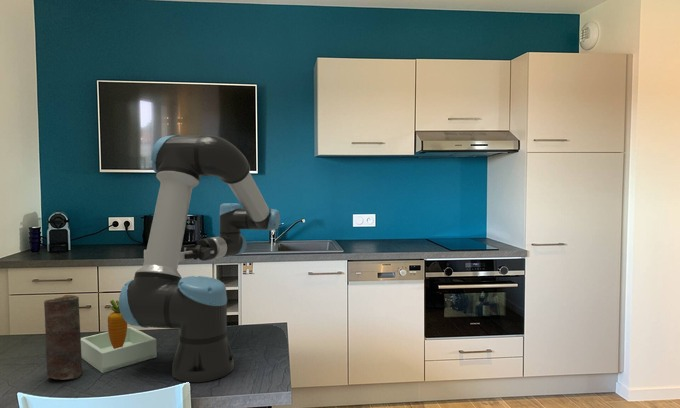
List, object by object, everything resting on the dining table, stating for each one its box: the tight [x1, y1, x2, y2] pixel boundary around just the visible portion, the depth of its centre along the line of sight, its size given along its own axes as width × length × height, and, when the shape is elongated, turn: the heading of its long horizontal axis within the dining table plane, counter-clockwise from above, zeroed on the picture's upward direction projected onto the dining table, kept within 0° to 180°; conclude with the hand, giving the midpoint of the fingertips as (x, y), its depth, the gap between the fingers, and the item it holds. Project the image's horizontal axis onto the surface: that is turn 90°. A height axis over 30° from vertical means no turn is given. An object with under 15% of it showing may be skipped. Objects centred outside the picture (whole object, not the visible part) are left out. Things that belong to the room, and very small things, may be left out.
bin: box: [81, 325, 158, 374], centre depth 121 cm, size 16×14×5 cm
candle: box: [43, 294, 83, 381], centre depth 108 cm, size 8×7×20 cm
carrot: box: [107, 299, 128, 349], centre depth 121 cm, size 5×5×15 cm
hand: (159, 256), depth 135 cm, fingers open, 13 cm apart
